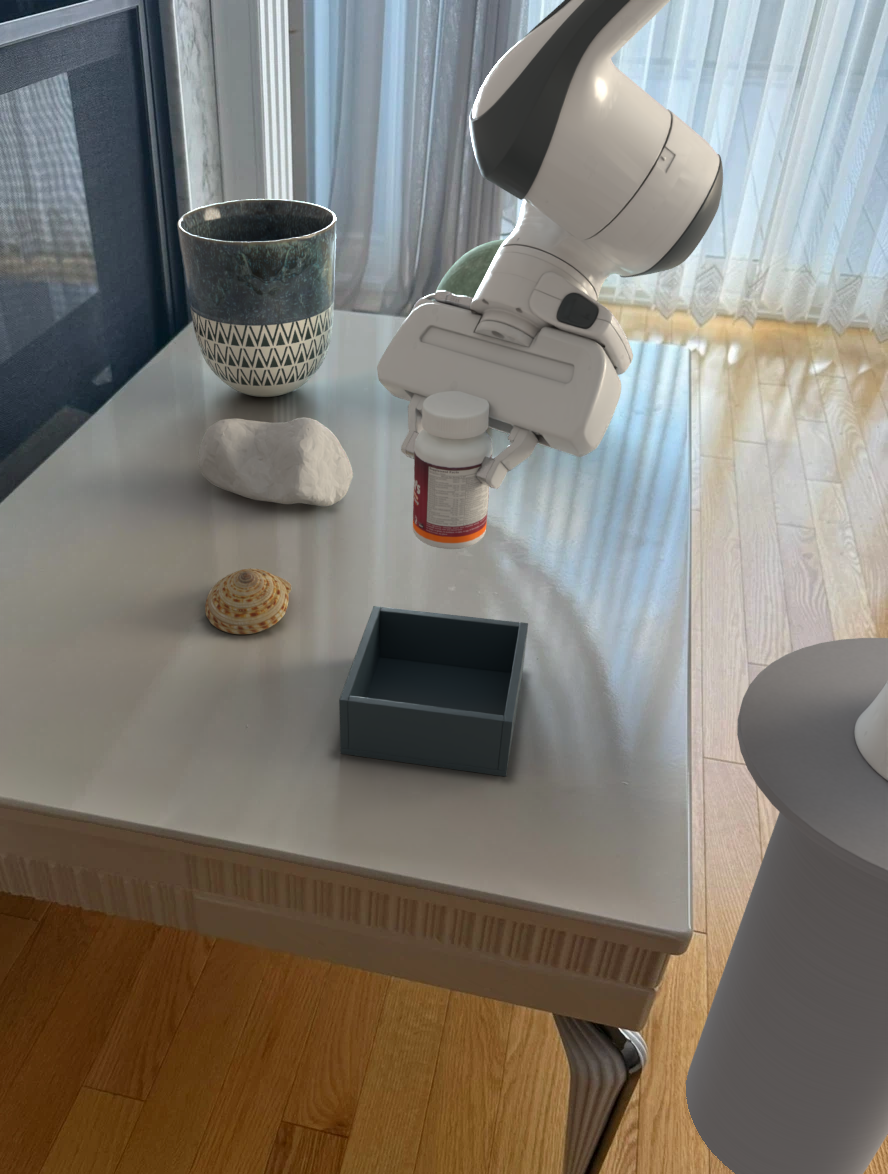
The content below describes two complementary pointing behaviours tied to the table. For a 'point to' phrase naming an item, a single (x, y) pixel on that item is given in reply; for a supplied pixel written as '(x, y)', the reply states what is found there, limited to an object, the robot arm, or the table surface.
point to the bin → (434, 690)
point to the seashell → (247, 601)
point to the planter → (261, 290)
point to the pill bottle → (451, 471)
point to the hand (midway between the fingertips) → (448, 470)
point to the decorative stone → (276, 461)
